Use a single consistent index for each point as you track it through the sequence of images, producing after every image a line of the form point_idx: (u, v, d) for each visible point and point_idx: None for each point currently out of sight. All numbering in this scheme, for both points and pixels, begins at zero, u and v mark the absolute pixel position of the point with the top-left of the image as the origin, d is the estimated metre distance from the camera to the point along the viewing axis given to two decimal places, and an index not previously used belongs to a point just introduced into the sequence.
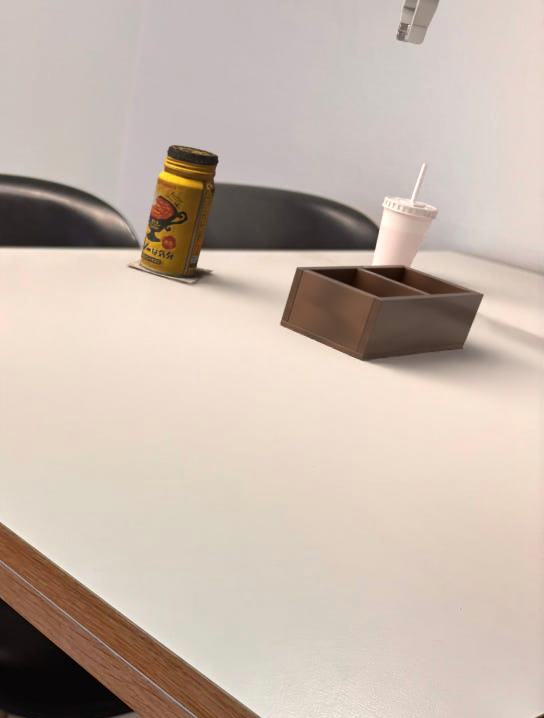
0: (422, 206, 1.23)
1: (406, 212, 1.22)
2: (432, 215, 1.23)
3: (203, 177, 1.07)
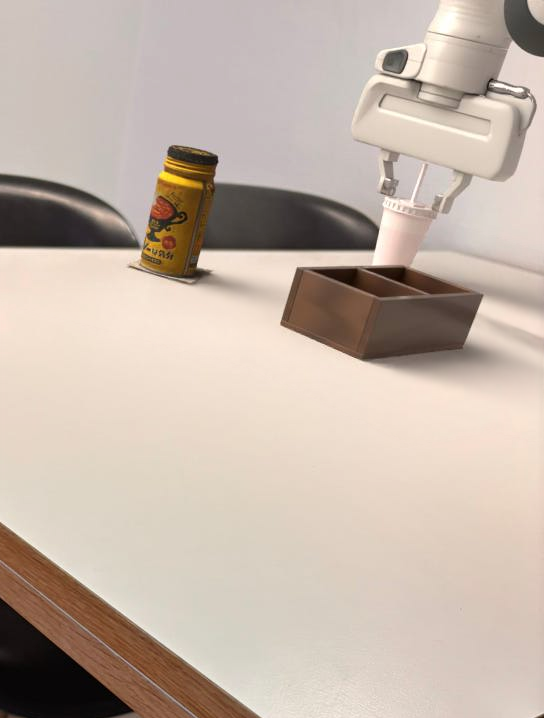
0: (422, 206, 1.23)
1: (406, 212, 1.22)
2: (432, 215, 1.23)
3: (203, 177, 1.07)
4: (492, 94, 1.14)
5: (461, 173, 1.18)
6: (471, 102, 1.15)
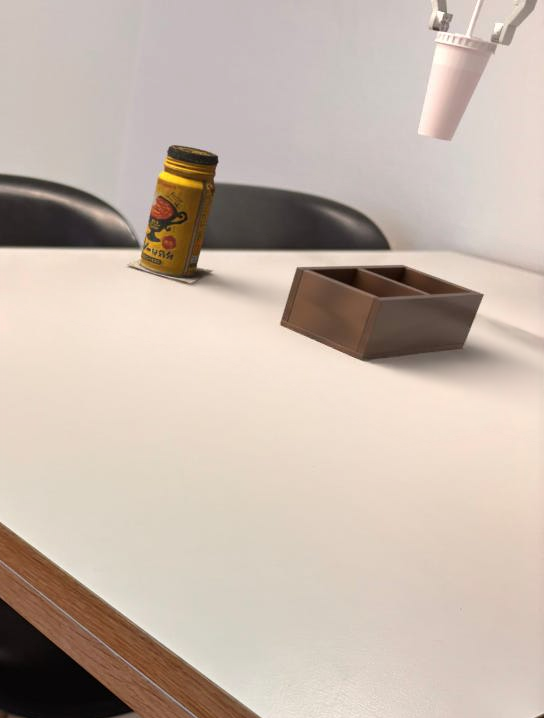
0: (479, 39, 1.11)
1: (463, 45, 1.10)
2: (491, 49, 1.11)
3: (203, 177, 1.07)
4: None
5: None
6: None
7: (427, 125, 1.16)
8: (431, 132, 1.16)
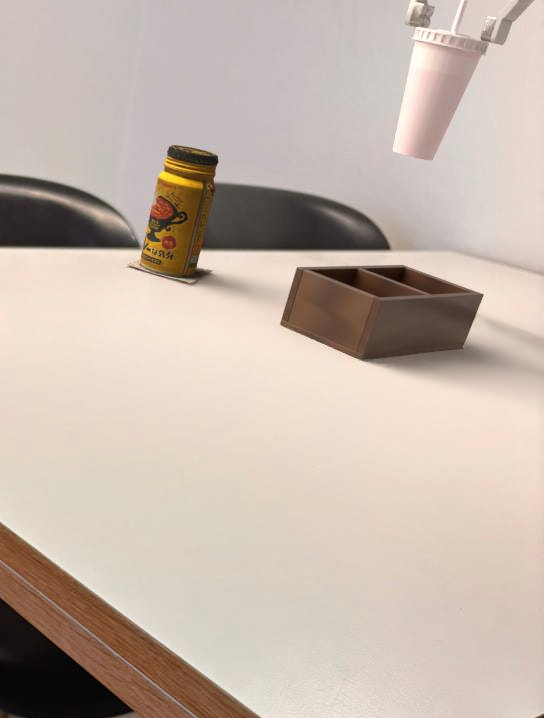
0: (467, 37, 0.90)
1: (446, 43, 0.90)
2: (481, 49, 0.90)
3: (203, 177, 1.07)
4: None
5: None
6: None
7: (404, 141, 0.95)
8: (408, 150, 0.95)
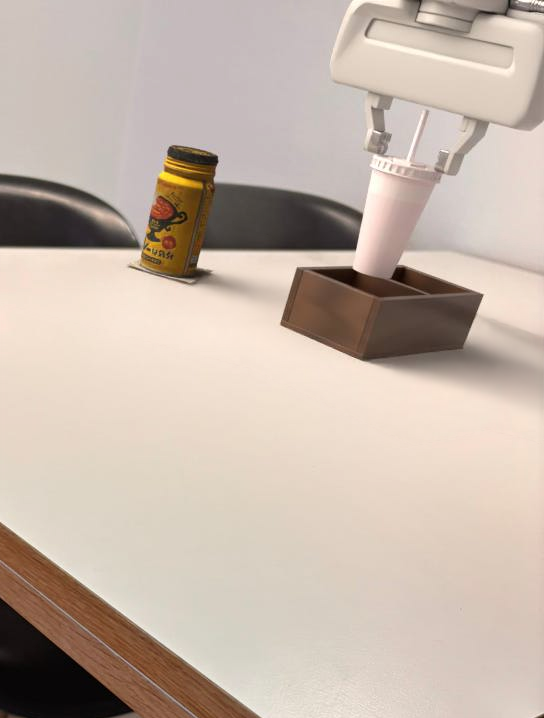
0: (422, 166, 0.94)
1: (401, 174, 0.93)
2: (435, 178, 0.94)
3: (203, 177, 1.07)
4: (515, 13, 0.86)
5: (473, 120, 0.89)
6: (487, 24, 0.86)
7: (363, 261, 0.99)
8: (367, 269, 0.99)
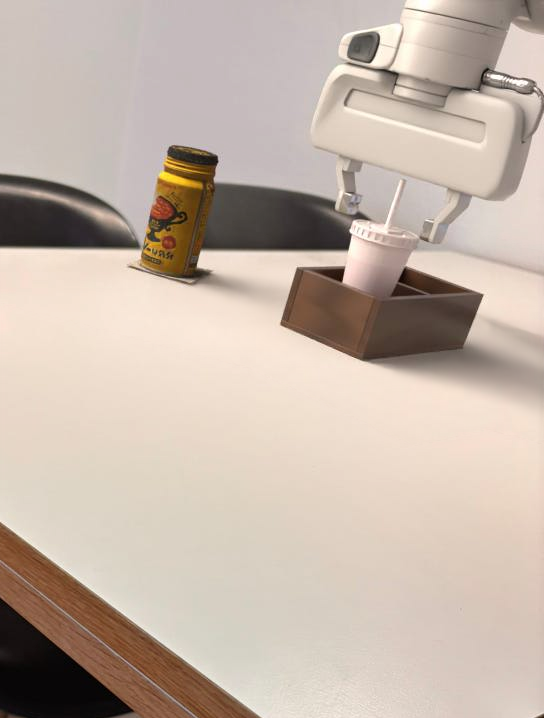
0: (399, 233, 0.97)
1: (379, 241, 0.96)
2: (412, 244, 0.97)
3: (203, 177, 1.07)
4: (487, 89, 0.88)
5: (457, 193, 0.92)
6: (460, 99, 0.89)
7: None
8: None
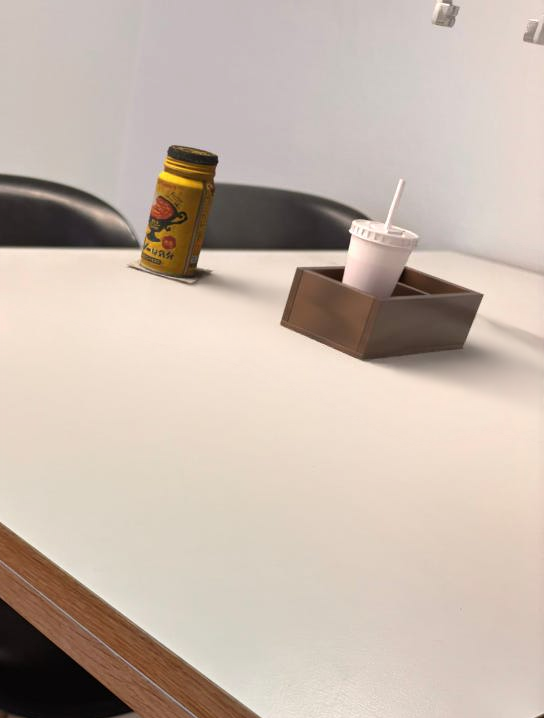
0: (399, 233, 0.97)
1: (379, 241, 0.96)
2: (412, 244, 0.97)
3: (203, 177, 1.07)
4: None
5: None
6: None
7: None
8: None
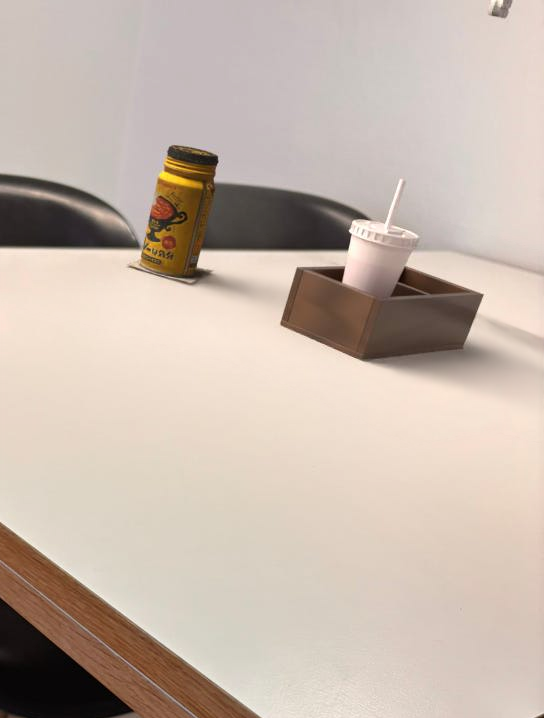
0: (399, 233, 0.97)
1: (379, 241, 0.96)
2: (412, 244, 0.97)
3: (203, 177, 1.07)
4: None
5: None
6: None
7: None
8: None
